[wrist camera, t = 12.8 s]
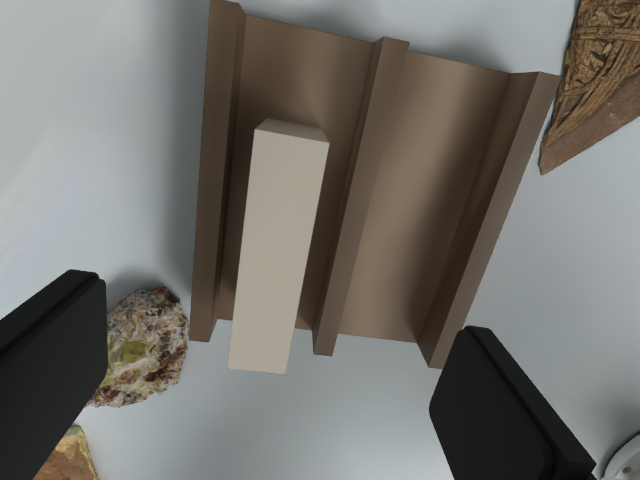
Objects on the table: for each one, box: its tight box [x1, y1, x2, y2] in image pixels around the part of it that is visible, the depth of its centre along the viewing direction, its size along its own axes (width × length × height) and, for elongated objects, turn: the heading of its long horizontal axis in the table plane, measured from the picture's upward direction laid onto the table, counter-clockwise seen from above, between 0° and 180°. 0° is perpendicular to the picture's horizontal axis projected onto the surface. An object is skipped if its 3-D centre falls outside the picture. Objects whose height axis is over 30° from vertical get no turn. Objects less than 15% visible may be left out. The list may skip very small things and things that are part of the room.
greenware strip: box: [227, 118, 330, 374], centre depth 19 cm, size 3×12×6 cm, turn 169°
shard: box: [33, 427, 99, 480], centre depth 31 cm, size 11×8×2 cm
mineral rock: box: [85, 288, 190, 408], centre depth 26 cm, size 11×4×8 cm
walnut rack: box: [189, 0, 562, 369], centre depth 21 cm, size 17×18×4 cm
